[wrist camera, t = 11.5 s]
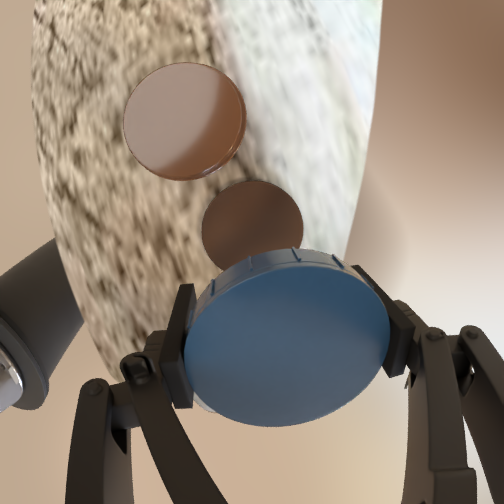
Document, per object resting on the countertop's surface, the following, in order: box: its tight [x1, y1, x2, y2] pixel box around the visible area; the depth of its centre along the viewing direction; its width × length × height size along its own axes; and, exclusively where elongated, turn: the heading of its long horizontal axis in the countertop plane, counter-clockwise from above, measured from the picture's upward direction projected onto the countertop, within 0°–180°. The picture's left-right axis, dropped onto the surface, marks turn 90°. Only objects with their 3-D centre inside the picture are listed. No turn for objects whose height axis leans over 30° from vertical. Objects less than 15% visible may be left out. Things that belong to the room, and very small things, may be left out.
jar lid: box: [184, 247, 390, 427], centre depth 12 cm, size 9×9×2 cm
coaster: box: [202, 181, 303, 271], centre depth 30 cm, size 10×10×1 cm
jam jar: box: [123, 62, 247, 181], centre depth 21 cm, size 8×8×10 cm
